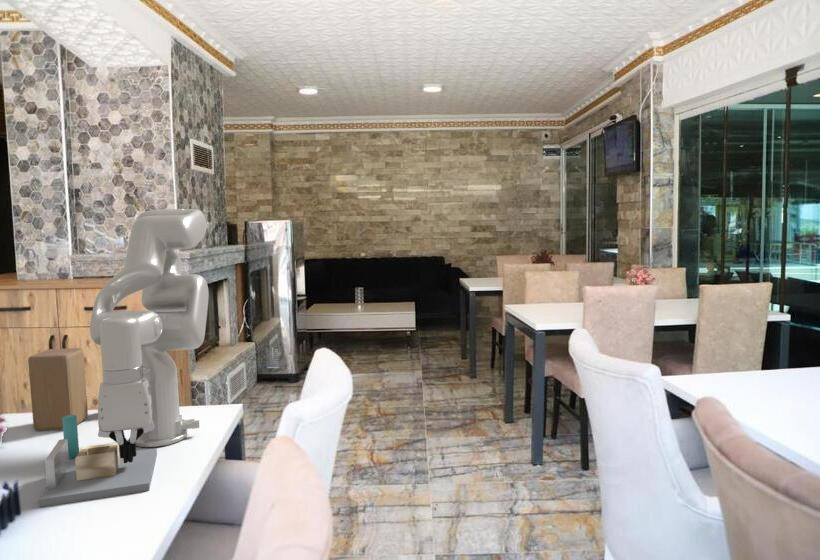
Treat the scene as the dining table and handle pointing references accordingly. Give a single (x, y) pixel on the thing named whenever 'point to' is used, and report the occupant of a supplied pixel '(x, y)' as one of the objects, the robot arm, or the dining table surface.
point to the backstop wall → (57, 464)
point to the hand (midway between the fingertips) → (128, 460)
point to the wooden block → (57, 387)
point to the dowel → (71, 435)
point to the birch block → (97, 461)
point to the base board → (104, 481)
